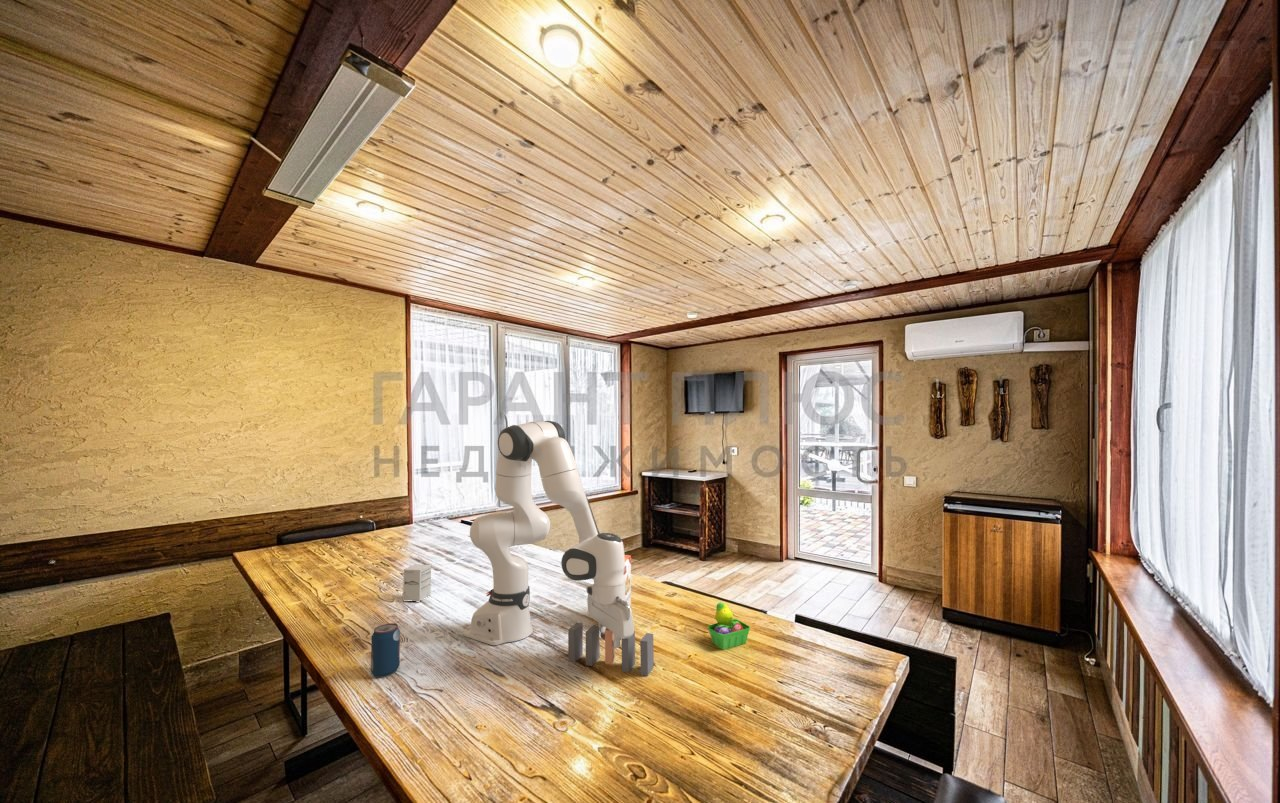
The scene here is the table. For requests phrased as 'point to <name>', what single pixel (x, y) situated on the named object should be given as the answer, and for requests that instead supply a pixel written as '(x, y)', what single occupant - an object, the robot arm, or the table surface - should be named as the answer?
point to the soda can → (385, 650)
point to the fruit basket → (727, 629)
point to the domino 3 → (609, 647)
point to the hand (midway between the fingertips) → (610, 642)
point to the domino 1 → (575, 642)
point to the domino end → (647, 654)
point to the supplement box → (417, 582)
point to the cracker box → (627, 579)
